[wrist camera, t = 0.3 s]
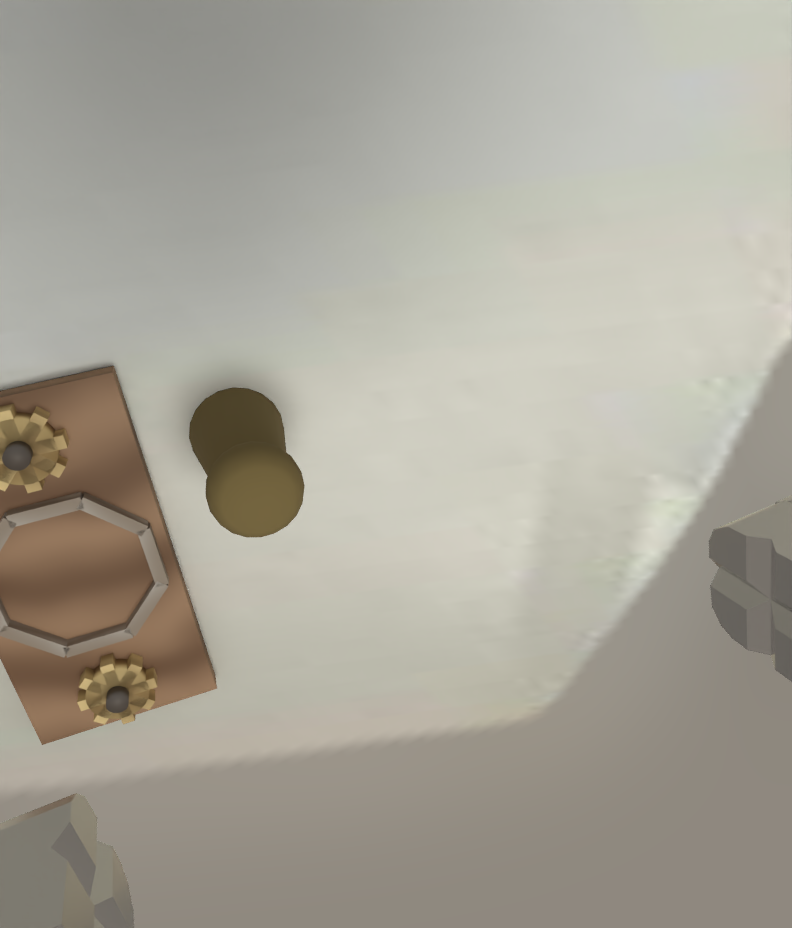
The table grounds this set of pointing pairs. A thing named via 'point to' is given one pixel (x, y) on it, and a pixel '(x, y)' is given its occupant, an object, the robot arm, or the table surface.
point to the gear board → (88, 564)
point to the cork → (246, 462)
